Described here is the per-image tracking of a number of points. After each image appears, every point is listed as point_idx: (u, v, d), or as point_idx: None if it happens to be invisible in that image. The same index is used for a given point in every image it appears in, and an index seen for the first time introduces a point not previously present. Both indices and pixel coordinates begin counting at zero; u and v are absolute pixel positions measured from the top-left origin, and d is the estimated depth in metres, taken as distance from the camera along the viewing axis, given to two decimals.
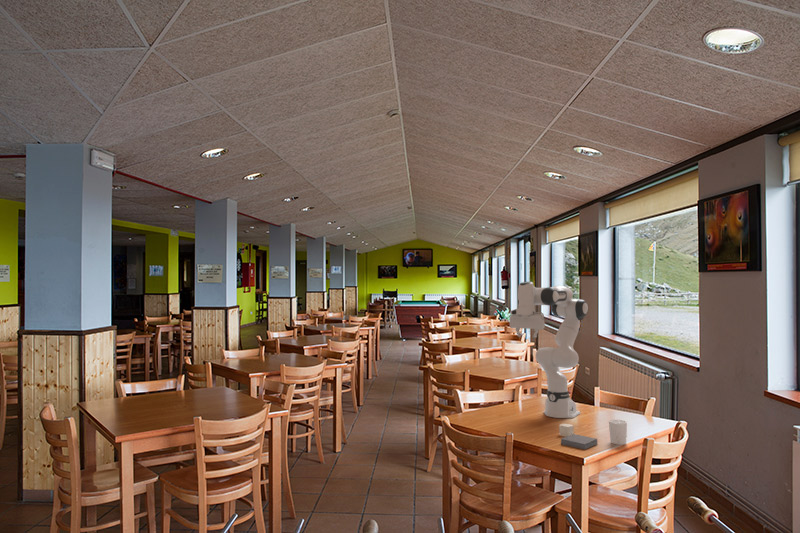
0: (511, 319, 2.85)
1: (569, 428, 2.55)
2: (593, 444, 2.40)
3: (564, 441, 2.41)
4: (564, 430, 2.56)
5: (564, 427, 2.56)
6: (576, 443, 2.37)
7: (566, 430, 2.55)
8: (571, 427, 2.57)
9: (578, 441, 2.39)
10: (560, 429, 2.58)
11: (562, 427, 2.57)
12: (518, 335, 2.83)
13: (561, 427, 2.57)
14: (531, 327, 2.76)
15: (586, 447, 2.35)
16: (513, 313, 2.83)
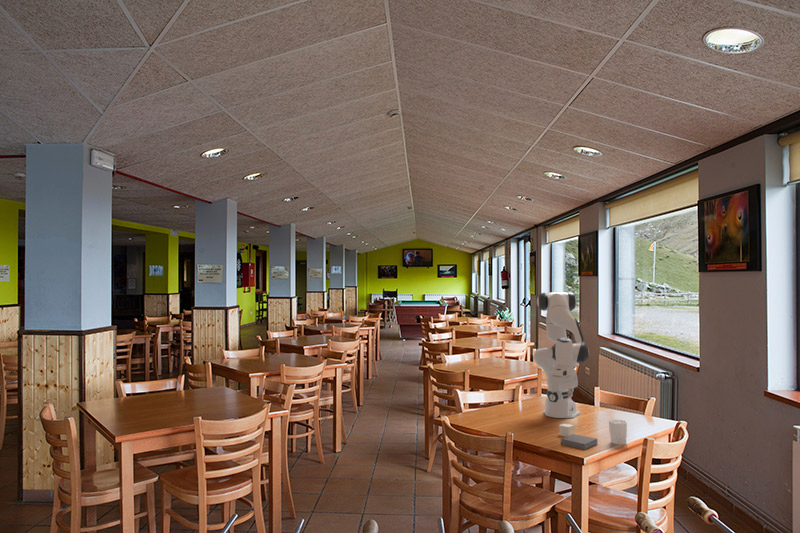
0: (560, 382, 2.52)
1: (569, 428, 2.55)
2: (593, 444, 2.40)
3: (564, 441, 2.41)
4: (564, 430, 2.56)
5: (564, 427, 2.56)
6: (576, 443, 2.37)
7: (566, 430, 2.55)
8: (571, 427, 2.57)
9: (578, 441, 2.39)
10: (560, 429, 2.58)
11: (562, 427, 2.57)
12: (562, 398, 2.55)
13: (561, 427, 2.57)
14: (572, 386, 2.60)
15: (586, 447, 2.35)
16: (564, 374, 2.53)
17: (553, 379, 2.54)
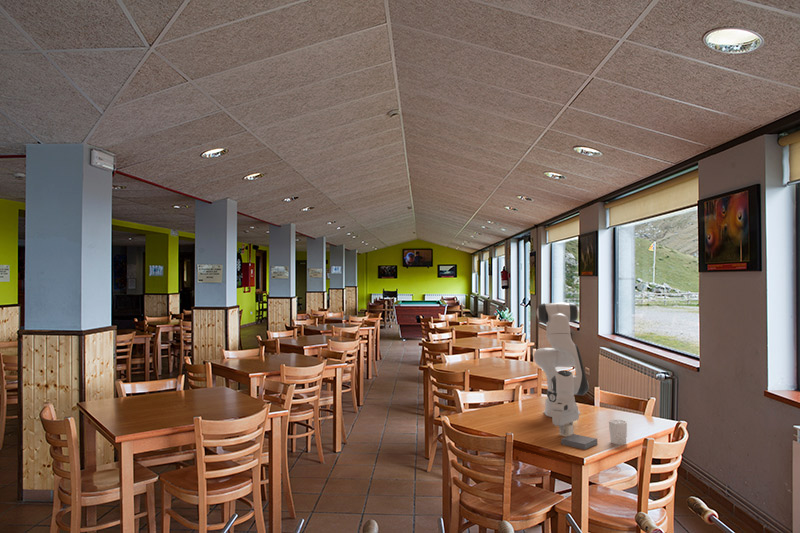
0: (561, 416, 2.51)
1: (569, 428, 2.55)
2: (593, 444, 2.40)
3: (564, 441, 2.41)
4: None
5: (564, 427, 2.56)
6: (576, 443, 2.37)
7: (566, 430, 2.55)
8: (571, 427, 2.57)
9: (578, 441, 2.39)
10: (560, 429, 2.58)
11: None
12: (564, 432, 2.55)
13: None
14: (573, 420, 2.60)
15: (586, 447, 2.35)
16: (565, 409, 2.52)
17: (554, 413, 2.53)
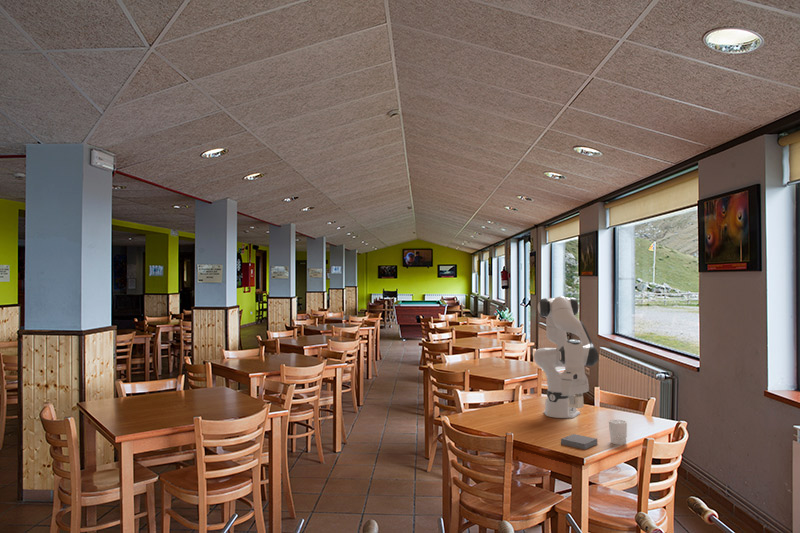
0: (570, 385, 2.38)
1: (579, 399, 2.42)
2: (593, 444, 2.40)
3: (564, 441, 2.41)
4: None
5: None
6: (576, 443, 2.37)
7: (576, 401, 2.42)
8: (581, 398, 2.44)
9: (578, 441, 2.39)
10: (569, 400, 2.45)
11: None
12: (574, 403, 2.42)
13: None
14: (583, 391, 2.47)
15: (586, 447, 2.35)
16: (574, 378, 2.39)
17: (563, 383, 2.40)
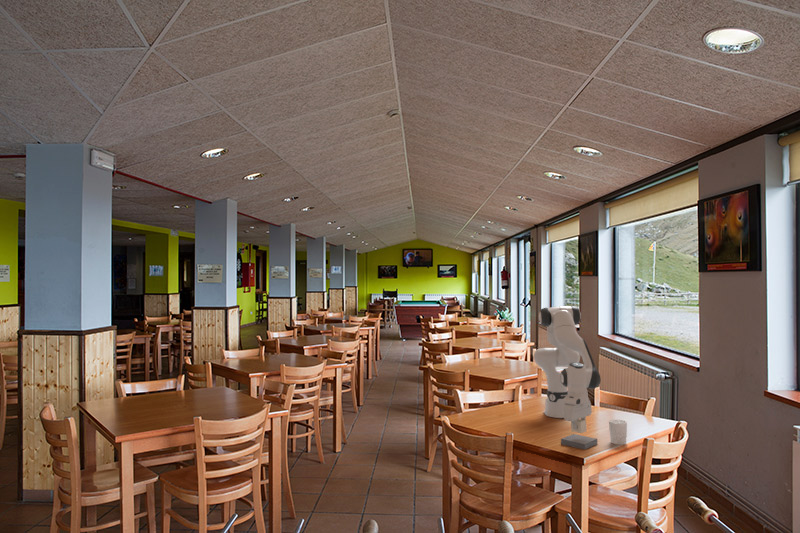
0: (573, 411, 2.36)
1: (582, 423, 2.40)
2: (593, 444, 2.40)
3: (564, 441, 2.41)
4: None
5: (576, 422, 2.41)
6: (576, 443, 2.37)
7: (578, 425, 2.40)
8: (584, 422, 2.41)
9: (578, 441, 2.39)
10: None
11: None
12: (576, 428, 2.40)
13: None
14: (585, 415, 2.44)
15: (586, 447, 2.35)
16: (577, 403, 2.37)
17: (566, 408, 2.37)
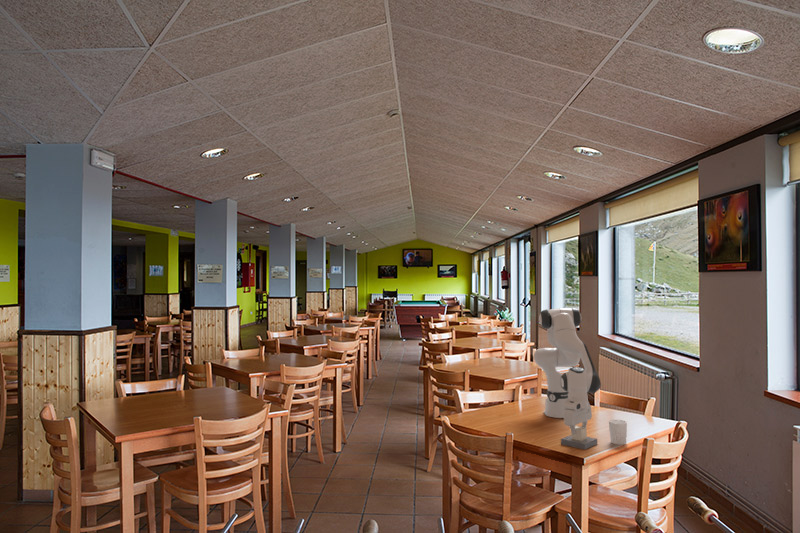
0: (573, 416, 2.36)
1: (582, 431, 2.40)
2: (593, 444, 2.40)
3: (564, 441, 2.41)
4: (577, 433, 2.41)
5: (577, 430, 2.41)
6: (576, 443, 2.37)
7: (579, 433, 2.40)
8: (584, 430, 2.41)
9: (578, 441, 2.39)
10: None
11: None
12: (575, 433, 2.39)
13: None
14: (586, 419, 2.44)
15: (586, 447, 2.35)
16: (577, 408, 2.37)
17: (566, 413, 2.37)
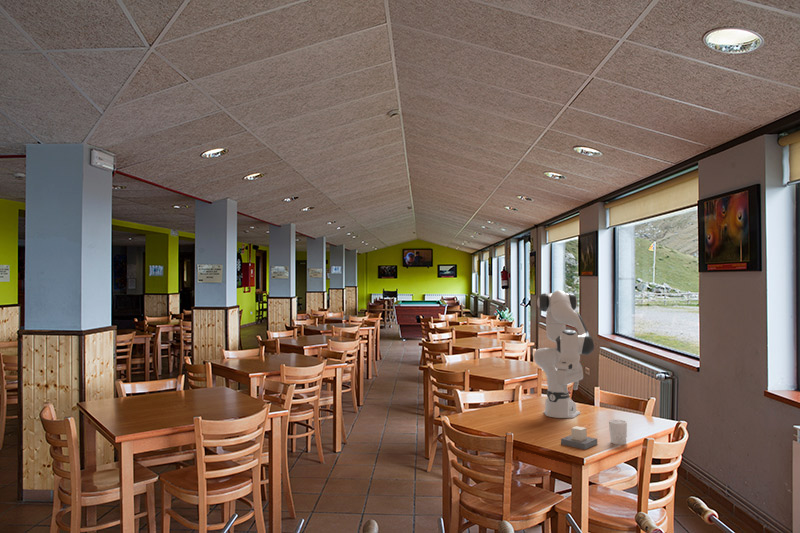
0: (565, 375, 2.46)
1: (582, 431, 2.40)
2: (593, 444, 2.40)
3: (564, 441, 2.41)
4: (577, 433, 2.41)
5: (577, 430, 2.41)
6: (576, 443, 2.37)
7: (579, 433, 2.40)
8: (584, 430, 2.41)
9: (578, 441, 2.39)
10: (572, 432, 2.42)
11: (574, 430, 2.42)
12: (567, 392, 2.49)
13: (573, 430, 2.42)
14: (577, 379, 2.55)
15: (586, 447, 2.35)
16: (569, 368, 2.47)
17: (558, 373, 2.48)
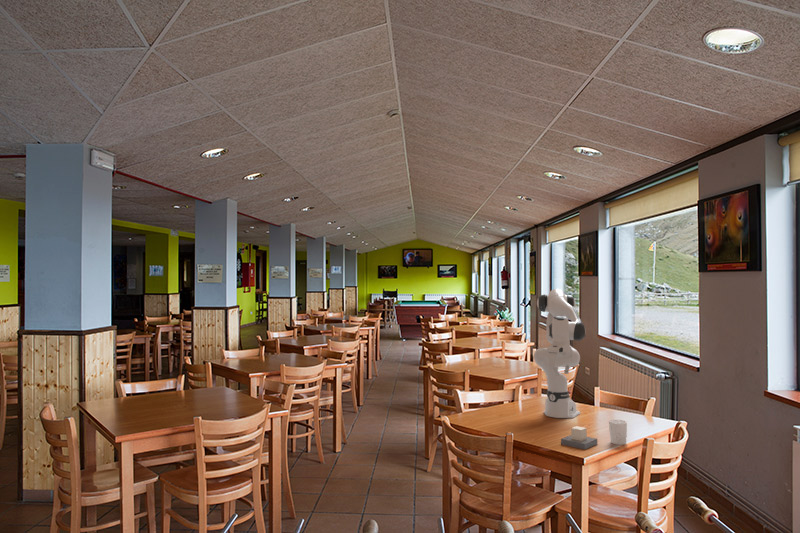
0: (556, 358, 2.58)
1: (582, 431, 2.40)
2: (593, 444, 2.40)
3: (564, 441, 2.41)
4: (577, 433, 2.41)
5: (577, 430, 2.41)
6: (576, 443, 2.37)
7: (579, 433, 2.40)
8: (584, 430, 2.41)
9: (578, 441, 2.39)
10: (572, 432, 2.42)
11: (574, 430, 2.42)
12: (558, 374, 2.61)
13: (573, 430, 2.42)
14: (568, 363, 2.67)
15: (586, 447, 2.35)
16: (560, 351, 2.59)
17: (549, 356, 2.60)
